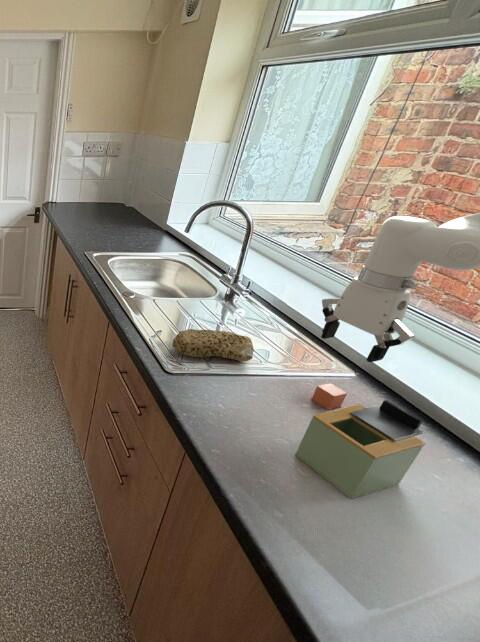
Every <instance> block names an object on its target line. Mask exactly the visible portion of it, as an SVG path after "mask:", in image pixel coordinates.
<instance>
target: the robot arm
mask: <svg viewBox="0 0 480 642" xmlns="http://www.w3.org/2000/svg"><path fill="white" fill-rule="evenodd" d="M421 262H423V263H426V264H430V265H433V266H437V267H439V268H444V269H447V270H453V271H470V270H476V269H478V268H480V212H477V213H472V214H468V215H464V216H460V217H457V218H454V219H451V220H449V221H446V222H445V223H442V224H441V225H439V226H437V224H436V223H435V222H433V221H431V220H429V219H425V218H420V217H415V216H404V215H397V216H391V217H388V218H387V219H385V220H384V221H383V223H382V225H381V227H380V229H379V232H378V233H377V235H376V238H375V240H374V242H373V244H372V246H371V248H370V250H369V253H368V255H367V257H366V259H365V261H364V264H363V266H362V268H361V270H360V272H359V274H358V275H357V276H355V277H354V278H352V280H351V281H350V282H349V284H348V285H347V286H346V288H345V289H344V291H343V292H342V294H341V296H340V297H330V298H329V297H328V298H327V297H326V298H322V300H321V304H322V306H321V307H322V310H321V311H322V313H323V316H324V322H325V324H324V326H323V329H322V331H321V333H322V334H321V336H320V338H321V339H323V340H325V339H331V338H334V337H335V335H336V334H337V331H338V329H339V327H340V325H341V322H340V321H342V322H343V323H346V324H348V325H349V326H352V327H354V328H356V329H358V330H361V331H363V332H366V333H367V334H370V335H373V336H374V339H375V341H376V343H377V344H374V345H372V348H371V350H370V352H369V354H368V355H367V357H366V362H368V363H375V362H379V361H382V360H383V359H384V358H385V357H386V354H387V352H388V351H389V349H390V347H396V346H401V345H404V344H405V343H407V342H410V341H411V340H413V339H415V337H416V336H415V334H414V333H413V332H412V331H411V330H410V329H409V328H408V327H407V326H406V325H405V324H404V323H403V320H404V317H405V316H406V315H405V314H406V313H407V310H408V307H409V303H410V298H411V290H416V288H417V287H418V285H419V283H417V282H415V281H414V280H413V279H414V278H415V277H414V275H415V273H416V271H417V269H418V267H419V265H420V263H421ZM409 289H411V290H409ZM333 305H335V307H334V308H333ZM395 333H397V334H398V335H399V336H397V337H396V338H393V334H395Z"/></svg>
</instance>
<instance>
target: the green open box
mask: <svg viewBox="0 0 480 642" xmlns="http://www.w3.org/2000/svg"><path fill="white" fill-rule="evenodd" d="M364 408H367V407H365V406H364V405H363V404H360V403H358V404H354V405H353V404H352V405H349V406H346V407H341V408H337V409H332V410H328V411H325V412H320V413H317V414H313V415H312V417H311V419H310V422H309V424H308V426H307V428H306V430H305V432H304V434H303V437H302V439H301V441H300V443H299V445H298V447H297V449H296V451H295V456H296V457H297V458H299V459H300V460H301V461H302V462H304V463H305V464H306V465H308V466H309V467H310V468H312V470H314V471H315V472H317V473H318V474H319V475H320V476H321V477H322V478H324V479H326V481H328V482H329V483H330V484H332V486H334V487H336V489H337V490H339V491H340V492H342V493H343V494H345V496H347V497H348V498H349V499H351V500H352V499H355V498H358V497H361V496H365V495H368V494H372V493H376V492H378V491H381V490H384V489H388V488H390V487H394V486H398V485H399V484H400V483H401V481H402V480H403V479H404V477H405V475H406V474H407V472H408V471H409V470H410V468H411V466H412V464H414V461H415V460H416V459H417V457H418V455H419V454H420V452H421V451H422V449H423V448H424V446H425V445H426V442H425V441H423V440H421V439H419V438H418V437H416V436H412V437H409V438H405V439H401V440H398V441H392V440H390V439H389V438H387V437H386V436H384V435H382V434H381V433H379V432H378V431H376V430H374V429H373V428H371V427H370V426H368V425H366V424H365V423H363V422H362V421H360V420H358V419H357V418H355V417H354V416H352V415H350V414H349V413H350V412H352V411H356V410H360V409H364Z"/></svg>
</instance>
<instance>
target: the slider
mask: <svg viewBox="0 0 480 642" xmlns="http://www.w3.org/2000/svg"><path fill="white" fill-rule="evenodd" d="M349 414H350V415H352V416H354V417H355V418H357V419H358V420H360V421H362V422H363V423H365V424H366V425H368V426H370V427H371V428H373V429H374V430H376V431H378V432H379V433H381V434H382V435H384V436H386V437H387V438H389V439H390V440H392V441H398V440H401V439H405V438H409V437H412V436H414V437H416V436H419V435H423V434H424V431H423V430H421V429H420V427H421V425H422V424H423V422H424V420H423V419H422V418H420V417H418V416H416V415H414V414H413V413H411V412H410V411H407V410H405V409H404V408H402V407H401V406H398V405H397V404H395V403H394V402H391V401H389V400H388V399H386V400H383V401H382V403H381V405H378V404H377V405H373V406H369V407H366V408H364V409H360V410H356V411H352V412H350V413H349Z"/></svg>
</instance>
